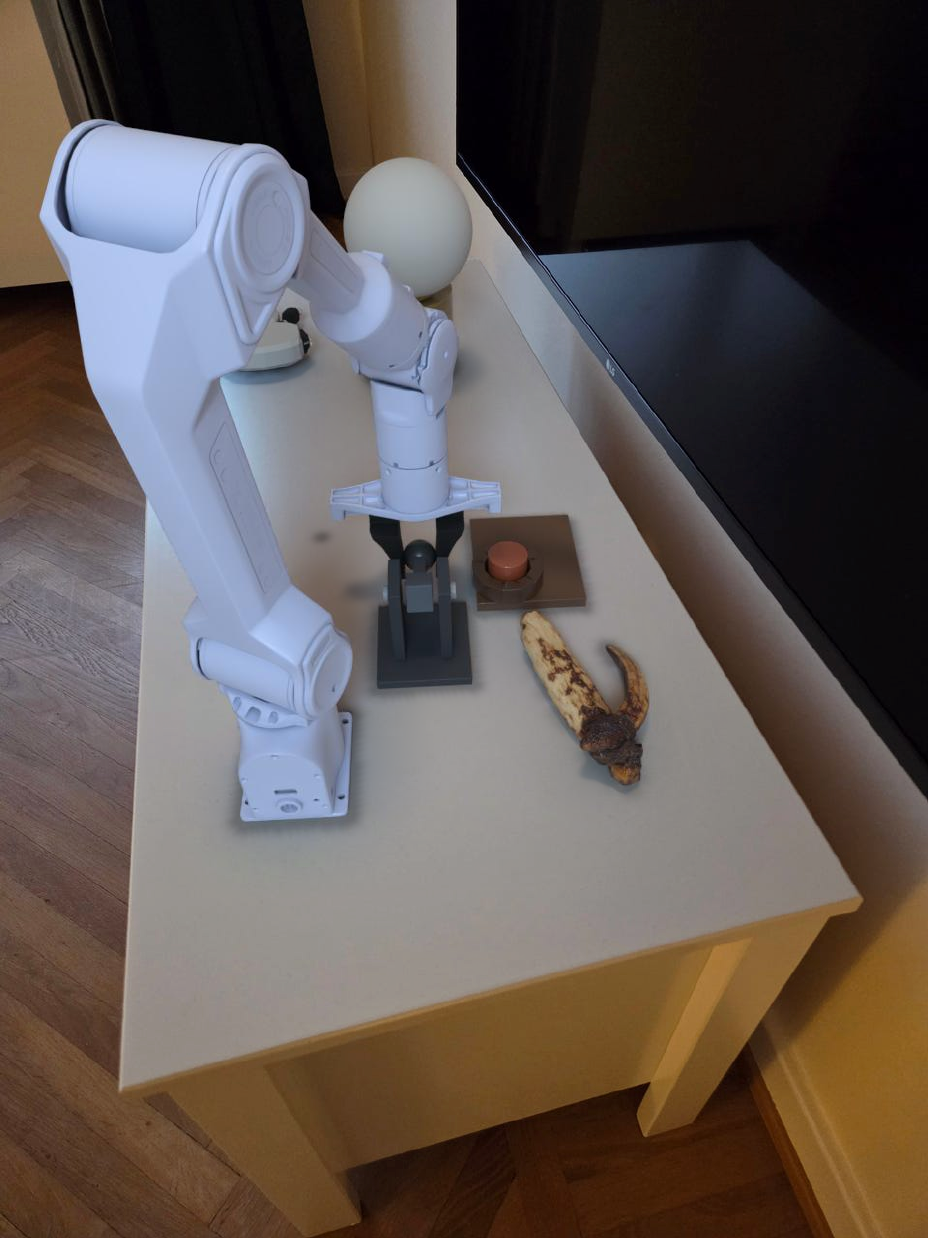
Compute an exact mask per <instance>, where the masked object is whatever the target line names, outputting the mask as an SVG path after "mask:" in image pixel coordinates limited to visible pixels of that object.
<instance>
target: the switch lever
mask: <svg viewBox="0 0 928 1238" xmlns="http://www.w3.org/2000/svg"><path fill="white" fill-rule="evenodd" d="M403 559H404V562H405V567H407V568H408V569H409V570H410V571H412V572H406V579H404V580H405V582H404V589H405V603H406V604H405V605H406V606H407V613H413V612H433V611H434V604H435V602H434V599H435V598H434V584H433V583H434V582H433V579H434V578H433V572H432V571H429V570H431V569H432V568H433V566H434V565H435V564H436V562H435V561H436V551H435V547H434V545H433V544H432V543H431V542H429V541H427V540H425V539H421V538H420V539H414V540H411V541H410V542H409V543H407V545H406V546H405V547H404V553H403Z"/></svg>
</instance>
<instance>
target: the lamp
mask: <svg viewBox="0 0 928 1238" xmlns="http://www.w3.org/2000/svg"><path fill="white" fill-rule="evenodd" d="M472 218H473V217H472V213H471V209H470V205H469V203H468V201H467V198H466V196H465V194H464V191H463V190H462V189H461V187H460V185H458V183H457V181H456V180H455V179H454V178H453V177H452V176H451V175H450V174H449V173H448V172H447V171H445V170H444V169H443V168H441V167H440V166H438V165H437V164H435V163H433V162H430V161H429V160H425V159H422V158H418V157H409V156H406V157H405V156H402V157H396V158H391V159H388V160H385V161H383V162H380V163H378V164H376V165H375V166H373V167H372V168H371V169H369V170H368V171H367V172H366V173H364V175H363V176H362V177H361V178H359V180H358V182H357V183H356V184H355V186H354V187H353V188H352V191H351V193H350V195H349V197H348V200H347V202H346V205H345V210H344V218H343V237H344V243H345V247H346V250H347V251H346V252H347V253H349V252H362V251H363V250H366V251H372V252H377V253H382V254H383V255H384V256H385V257H386V258H387V259H388V260H389V267H388V270H389V271H390V272H391V274H392V275H393V276H394V277H395V278H396V279H397V280H398V281H399V282H400V283H401V284H402V285H406V286H409V287H410V288H411V289H412V290H413V291H414V297H415V298H416V299H417V300H418V301H419V302H420V303H421V304H422V306H423V307H426V308H431V309H436V310H441V311H443V312H444V313H445V314H446V315H447V318H448V320H451V321H452V322H453V323H454V303H453V300H454V299H453V298H454V297H453V285H452V283H453V281H455V279H456V278H457V277H458V276H459V274H460V273H461V271H462V269H463V268H464V267H465V265H466V262H467V261H468V257H469V255H470V252H471V247H472V244H473V243H472V241H473V231H474V229H473V228H474V227H473V219H472Z"/></svg>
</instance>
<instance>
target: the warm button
mask: <svg viewBox="0 0 928 1238" xmlns="http://www.w3.org/2000/svg"><path fill="white" fill-rule="evenodd" d="M527 561H528V553H527V550H526V549H525V548H524V547H523V546H522V545H521V544H519V543H516V542H511V541H504V542H499V543H497V544H495V545H493V546H492V547H491V548H490V550H489V552H488V571H489V573H490V574H491V575H492V576H493V577H494V578H496V579H498V580H501V581H515V580H518V579H520V578H522V577H523V576H524V575H525V573H526V571H527Z"/></svg>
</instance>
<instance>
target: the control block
mask: <svg viewBox="0 0 928 1238" xmlns="http://www.w3.org/2000/svg"><path fill="white" fill-rule="evenodd" d="M468 522H469V525H468V526H469V536H470V537H469V538H470V549H471V558H472V559H471V581H472V587H473V589H474V591H475V603H476V612H494V611H495V612H496V611H511V610H512V611H514V610H515V611H516V610H517V611H518V610H534V609H538V610H539V609H556V608H576V607H586V604H587V596H586V595H587V594H586V591H585V586H584V581H583V577H582V573H581V568H580V563H579V559H578V553H577V549H576V545H575V540H574V536H573V531H572V527H571V522H570V517H569V515H568V514H554V515H553V514H552V515H532V516H531V515H530V516H529V515H528V516H510V517H509V516H508V517H505V516H504V517H487V518H486V517H485V518H469V521H468ZM504 541H511V542H516V543H519V544H521V545H522V546H523V547H524V548H525V549H526V550H527V553H528V561H527V571H526V573H525V575H524V576H523V577H522V578H520V579H518V580H515V581H501V580H498V579H496V578H494V577H493V576H492V575H491V574H490V573H489V571H488V552H489V550H490V548H491V547H492V546H493V545H495V544H497V543H499V542H504Z"/></svg>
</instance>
